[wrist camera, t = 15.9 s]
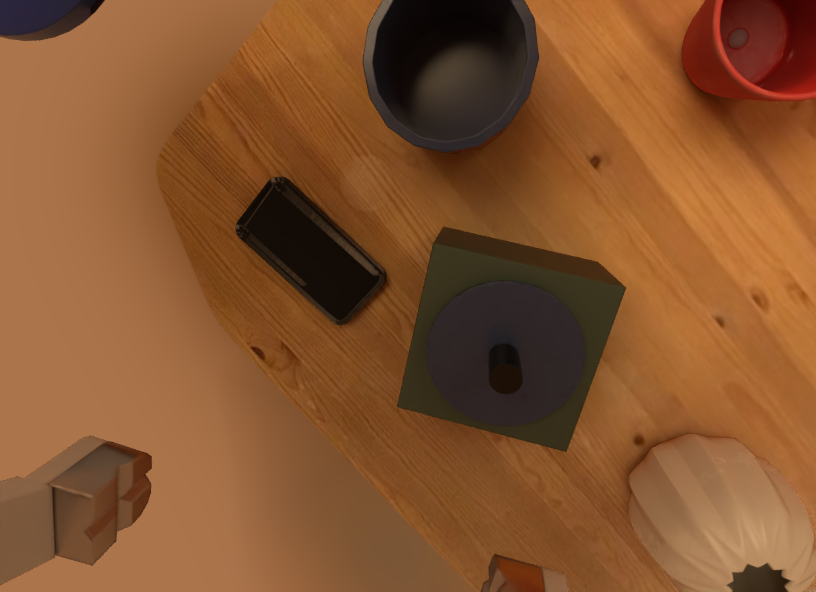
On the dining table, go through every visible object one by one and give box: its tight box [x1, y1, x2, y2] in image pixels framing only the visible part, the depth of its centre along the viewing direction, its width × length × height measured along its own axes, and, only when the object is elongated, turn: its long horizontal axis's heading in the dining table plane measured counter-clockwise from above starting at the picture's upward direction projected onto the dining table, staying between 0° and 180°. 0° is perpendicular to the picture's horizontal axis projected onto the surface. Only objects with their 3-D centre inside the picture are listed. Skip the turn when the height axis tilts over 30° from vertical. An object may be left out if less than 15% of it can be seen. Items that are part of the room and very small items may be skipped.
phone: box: [235, 177, 386, 325], centre depth 48 cm, size 8×1×15 cm
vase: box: [627, 433, 816, 592], centre depth 42 cm, size 14×14×13 cm
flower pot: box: [682, 0, 816, 101], centre depth 33 cm, size 11×11×10 cm
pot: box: [363, 0, 539, 154], centre depth 36 cm, size 11×11×12 cm
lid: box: [426, 280, 585, 426], centre depth 36 cm, size 12×12×5 cm
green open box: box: [397, 227, 626, 452], centre depth 43 cm, size 15×15×9 cm
